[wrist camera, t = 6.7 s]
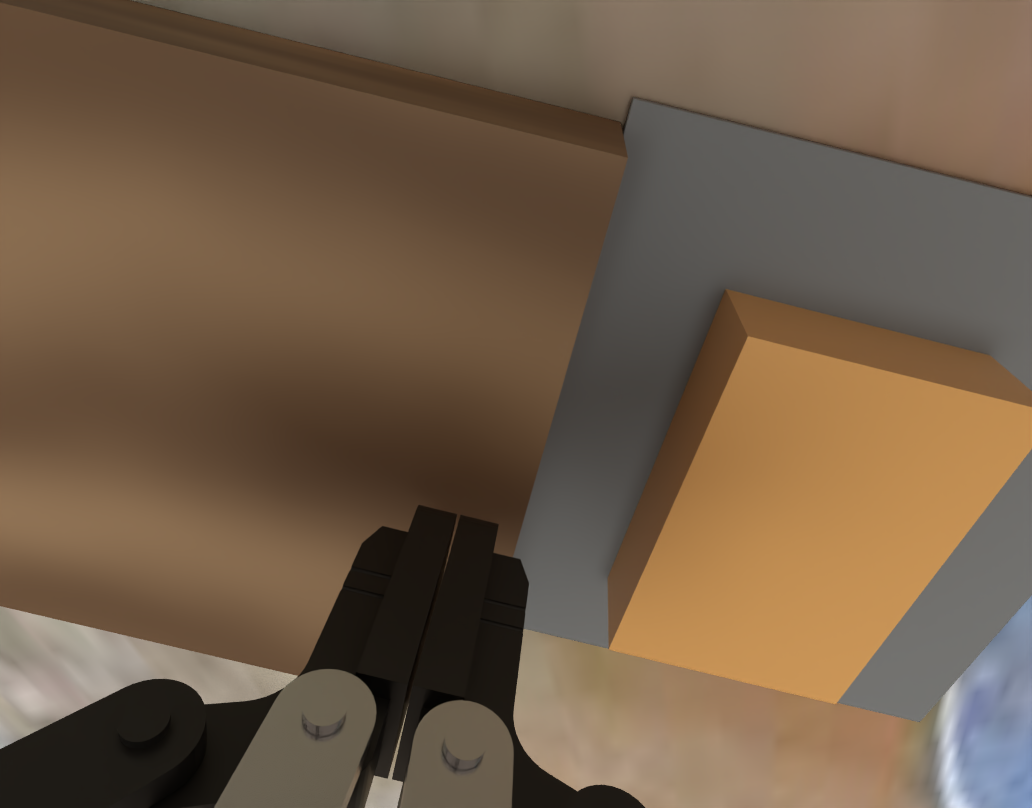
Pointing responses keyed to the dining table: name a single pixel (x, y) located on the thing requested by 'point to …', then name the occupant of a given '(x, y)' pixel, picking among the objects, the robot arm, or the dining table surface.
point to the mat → (797, 282)
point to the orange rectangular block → (808, 495)
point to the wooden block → (266, 315)
